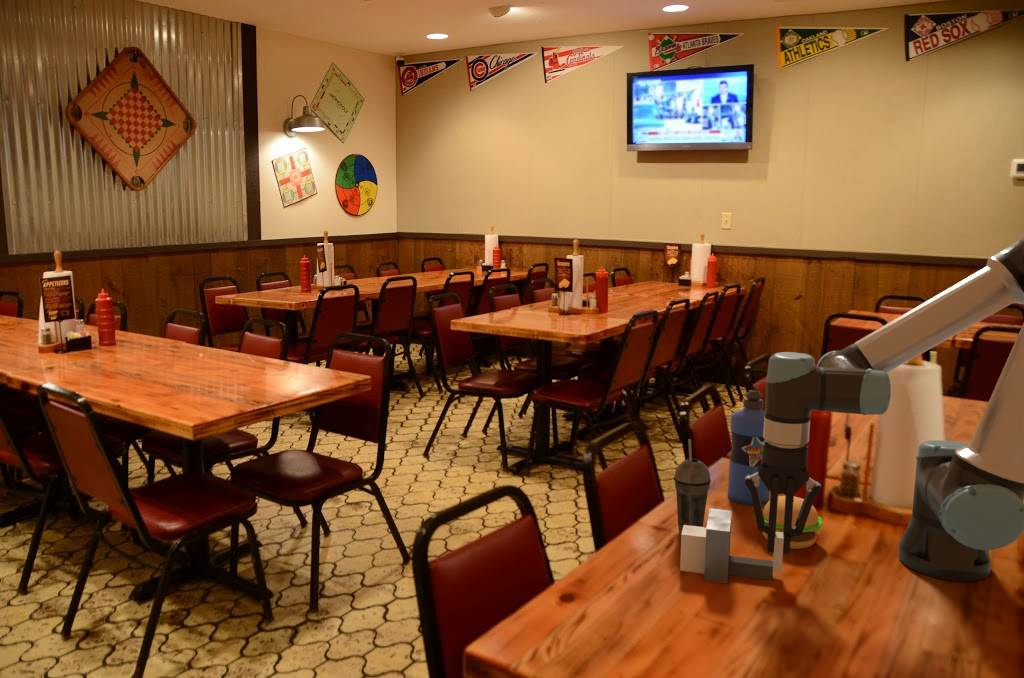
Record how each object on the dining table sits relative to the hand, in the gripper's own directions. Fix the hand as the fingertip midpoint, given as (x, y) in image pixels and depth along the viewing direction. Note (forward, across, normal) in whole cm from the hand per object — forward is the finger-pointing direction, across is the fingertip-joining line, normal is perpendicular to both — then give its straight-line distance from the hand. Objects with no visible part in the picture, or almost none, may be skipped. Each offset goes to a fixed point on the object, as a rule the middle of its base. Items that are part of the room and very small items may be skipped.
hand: (776, 569), depth 144 cm
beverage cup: (+2, +16, -15) cm, 22 cm away
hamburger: (+2, -3, -18) cm, 18 cm away
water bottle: (+2, +5, -39) cm, 39 cm away
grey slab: (+2, +10, 0) cm, 10 cm away
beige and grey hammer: (+2, +9, 0) cm, 9 cm away
